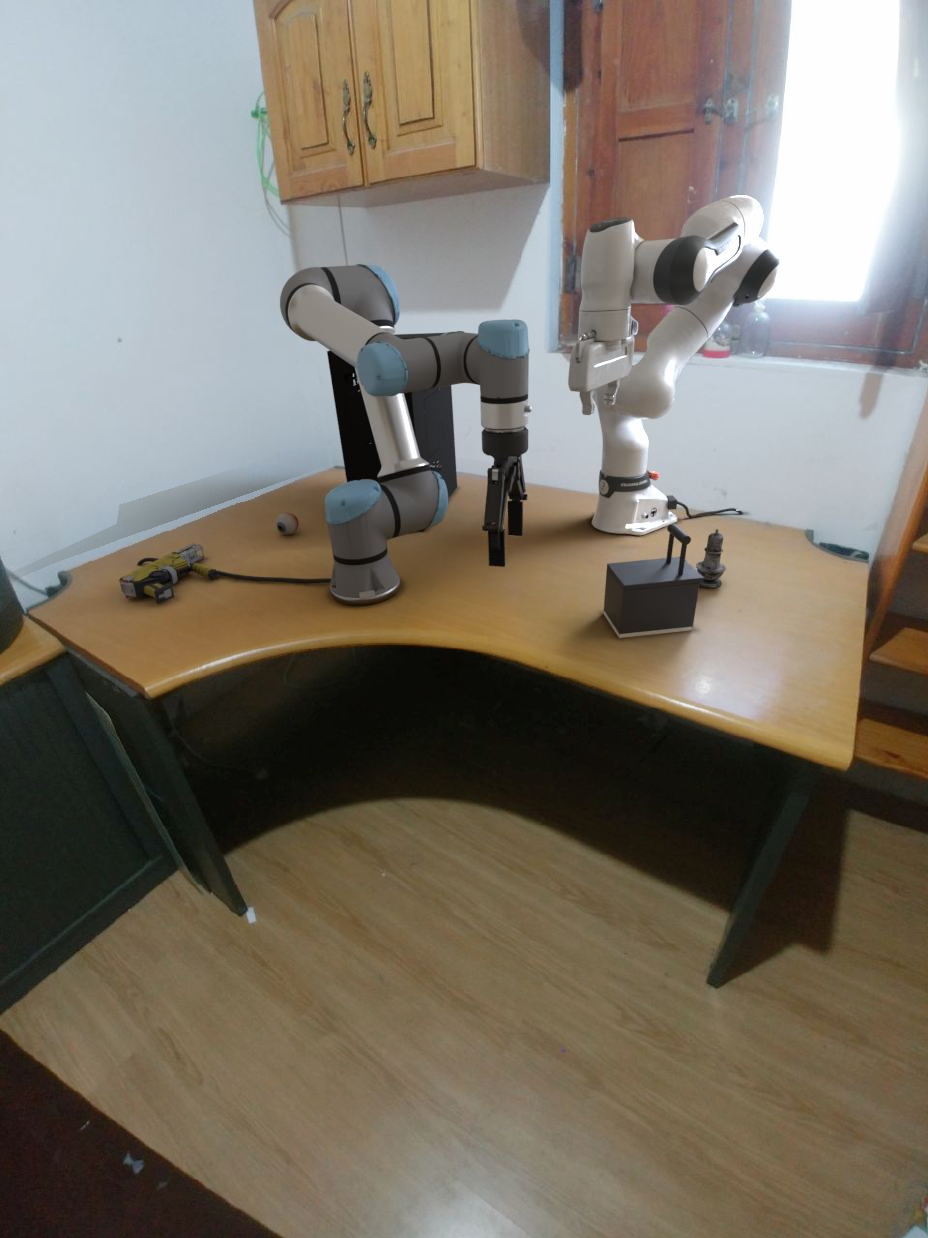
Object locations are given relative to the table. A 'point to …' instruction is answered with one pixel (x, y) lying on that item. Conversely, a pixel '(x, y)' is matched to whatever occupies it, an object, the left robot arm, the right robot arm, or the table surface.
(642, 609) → the chest
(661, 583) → the lid
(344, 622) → the table surface
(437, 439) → the black computer tower
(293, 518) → the eyeball
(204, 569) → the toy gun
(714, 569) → the salt shaker
